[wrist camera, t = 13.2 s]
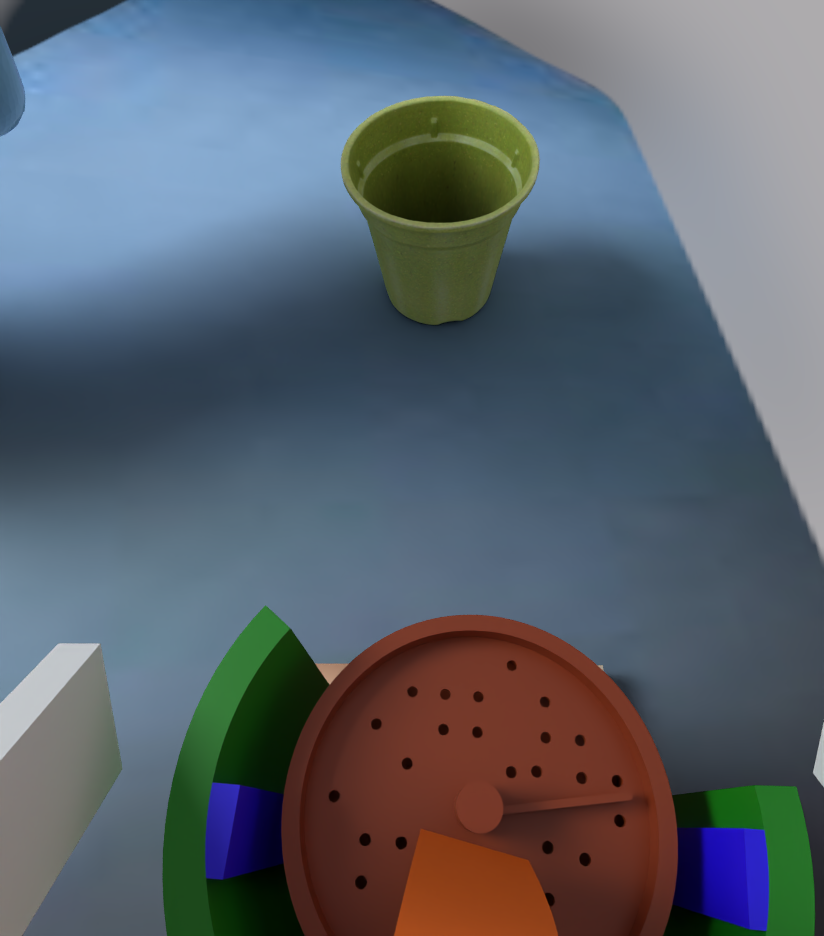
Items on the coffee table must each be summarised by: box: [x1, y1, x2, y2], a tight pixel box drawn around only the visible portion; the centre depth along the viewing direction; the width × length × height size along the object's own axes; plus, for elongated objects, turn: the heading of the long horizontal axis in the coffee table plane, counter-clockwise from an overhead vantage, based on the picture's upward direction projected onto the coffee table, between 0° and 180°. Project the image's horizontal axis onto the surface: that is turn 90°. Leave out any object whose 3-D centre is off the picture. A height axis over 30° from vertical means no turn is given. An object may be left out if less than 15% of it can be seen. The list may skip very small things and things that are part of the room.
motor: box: [163, 606, 815, 936], centre depth 15 cm, size 10×9×20 cm
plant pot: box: [341, 96, 540, 325], centre depth 35 cm, size 9×9×9 cm
